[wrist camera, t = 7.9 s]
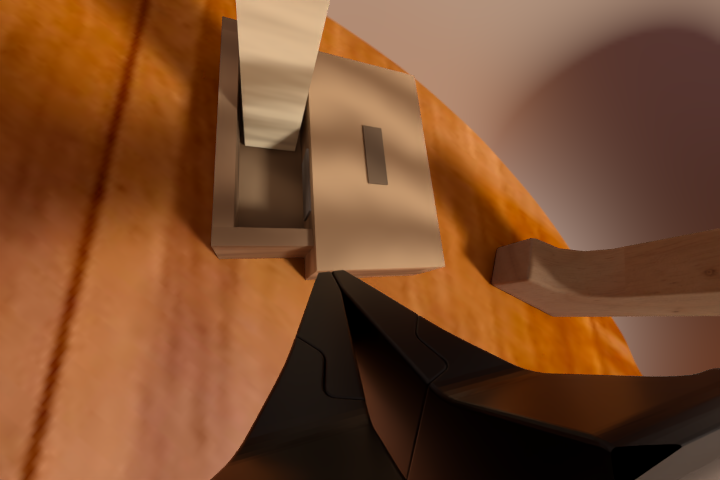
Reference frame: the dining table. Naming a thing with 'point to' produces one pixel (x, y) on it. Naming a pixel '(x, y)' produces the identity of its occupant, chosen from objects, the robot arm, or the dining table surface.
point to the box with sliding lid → (328, 175)
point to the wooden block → (615, 277)
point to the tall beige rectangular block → (277, 66)
